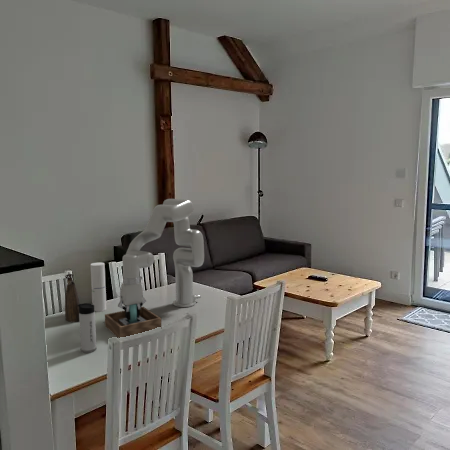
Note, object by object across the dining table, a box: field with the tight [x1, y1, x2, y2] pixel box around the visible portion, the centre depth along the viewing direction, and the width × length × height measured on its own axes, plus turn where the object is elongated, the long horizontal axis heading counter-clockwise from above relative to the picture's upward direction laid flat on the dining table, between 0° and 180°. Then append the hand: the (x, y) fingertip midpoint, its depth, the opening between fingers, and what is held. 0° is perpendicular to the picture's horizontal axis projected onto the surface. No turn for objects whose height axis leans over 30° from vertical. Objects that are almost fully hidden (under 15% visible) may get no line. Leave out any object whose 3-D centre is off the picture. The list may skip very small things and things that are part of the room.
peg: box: [128, 304, 137, 323], centre depth 208 cm, size 4×4×10 cm
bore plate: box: [118, 316, 146, 326], centre depth 208 cm, size 10×10×3 cm
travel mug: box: [78, 302, 97, 354], centre depth 183 cm, size 6×7×20 cm
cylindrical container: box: [90, 261, 107, 313], centre depth 234 cm, size 7×7×25 cm
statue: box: [64, 271, 80, 323], centre depth 219 cm, size 9×8×25 cm
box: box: [104, 306, 162, 339], centre depth 208 cm, size 20×20×6 cm
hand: (132, 317), depth 208 cm, fingers closed on peg, 3 cm apart
